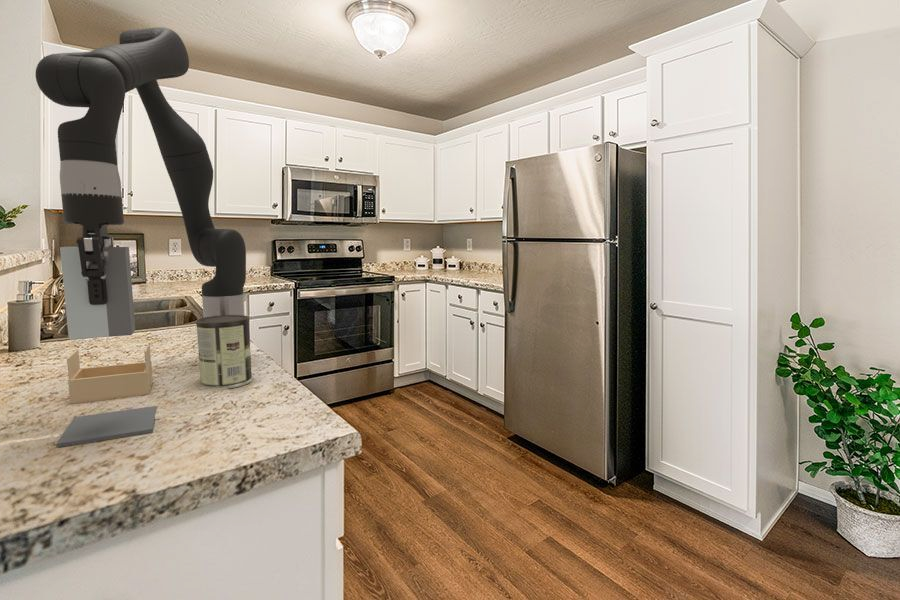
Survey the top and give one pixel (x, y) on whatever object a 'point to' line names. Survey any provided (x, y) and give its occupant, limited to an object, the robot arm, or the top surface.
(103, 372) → the carton
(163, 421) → the top surface
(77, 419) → the mat
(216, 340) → the coffee can
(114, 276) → the box
